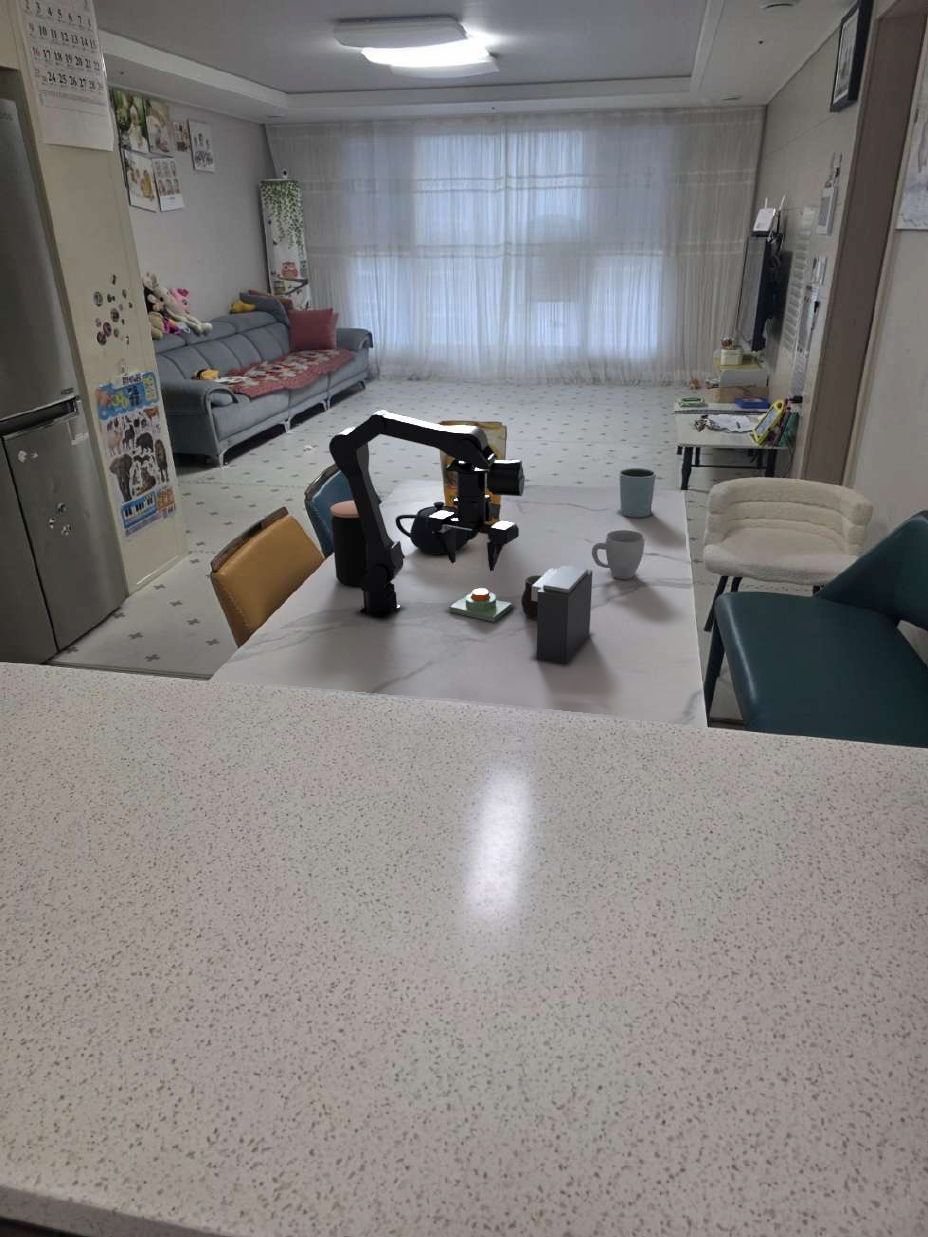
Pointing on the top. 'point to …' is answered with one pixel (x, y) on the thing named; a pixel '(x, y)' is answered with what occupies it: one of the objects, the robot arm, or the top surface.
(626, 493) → the blue cup
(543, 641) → the lidded grey bin
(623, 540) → the mug
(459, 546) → the teapot
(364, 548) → the coffee jar
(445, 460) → the pancake mix bag
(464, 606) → the pad
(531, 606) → the mate gourd
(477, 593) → the eject button
